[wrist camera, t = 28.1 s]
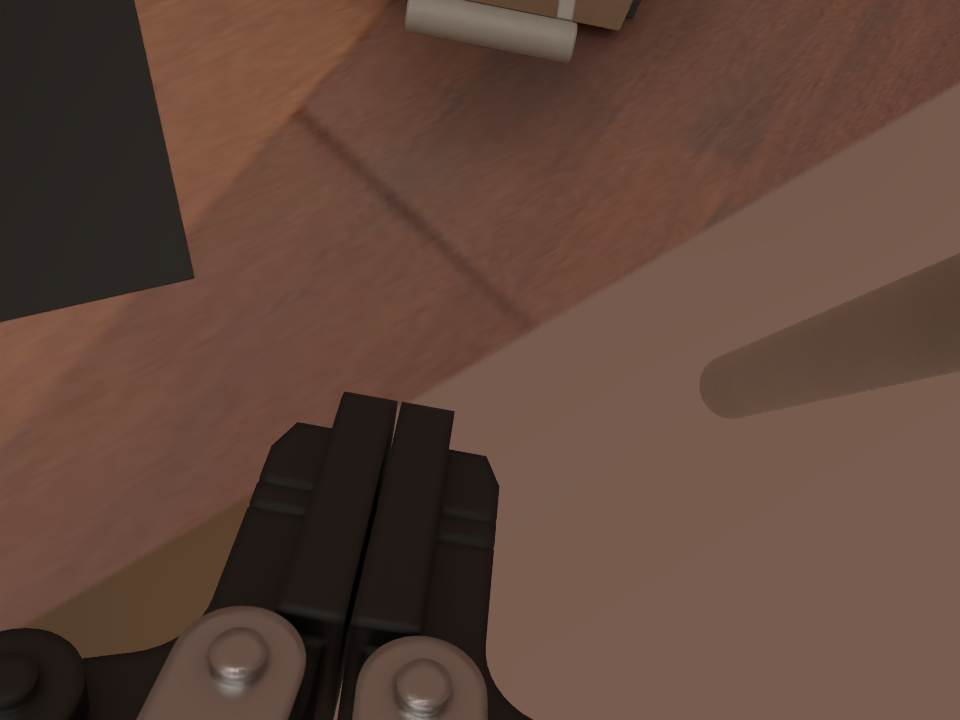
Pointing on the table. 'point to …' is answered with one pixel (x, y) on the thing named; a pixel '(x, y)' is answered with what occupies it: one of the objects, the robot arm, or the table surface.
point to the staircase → (81, 159)
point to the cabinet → (633, 8)
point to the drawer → (514, 23)
